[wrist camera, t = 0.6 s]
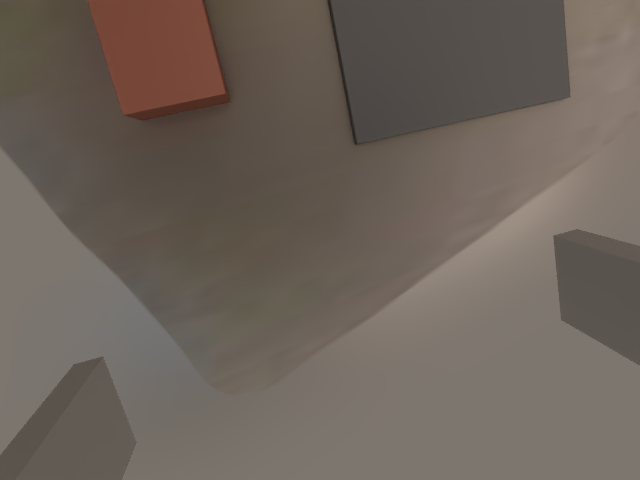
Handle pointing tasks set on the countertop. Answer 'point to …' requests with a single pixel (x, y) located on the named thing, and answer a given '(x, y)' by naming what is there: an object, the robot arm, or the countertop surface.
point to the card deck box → (160, 55)
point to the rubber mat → (446, 60)
